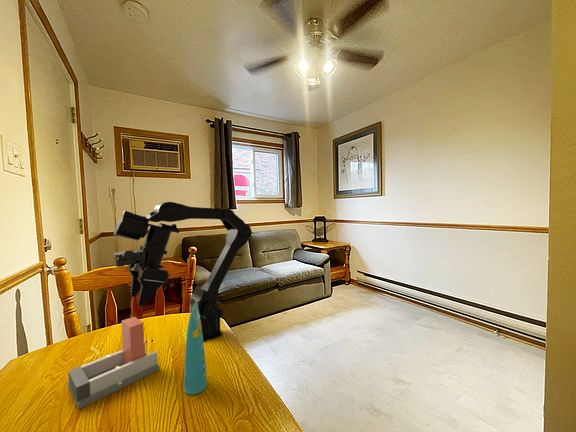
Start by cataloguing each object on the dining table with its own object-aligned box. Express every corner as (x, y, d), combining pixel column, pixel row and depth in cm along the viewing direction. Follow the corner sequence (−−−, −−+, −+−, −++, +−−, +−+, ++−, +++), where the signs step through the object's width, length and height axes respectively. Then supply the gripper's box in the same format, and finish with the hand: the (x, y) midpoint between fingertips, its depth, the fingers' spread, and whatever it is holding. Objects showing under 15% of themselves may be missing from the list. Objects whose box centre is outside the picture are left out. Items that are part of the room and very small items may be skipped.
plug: (135, 357, 66) (134, 316, 66) (144, 365, 63) (143, 322, 62) (123, 362, 64) (121, 320, 64) (131, 371, 60) (130, 327, 60)
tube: (207, 395, 54) (205, 308, 53) (183, 401, 52) (180, 312, 52) (206, 374, 61) (204, 297, 60) (185, 379, 59) (182, 300, 59)
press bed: (142, 354, 70) (142, 339, 70) (159, 369, 63) (158, 353, 63) (67, 385, 58) (67, 368, 58) (78, 409, 51) (77, 389, 51)
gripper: (117, 235, 71) (97, 290, 68) (130, 240, 57) (105, 309, 54) (157, 244, 78) (141, 293, 75) (177, 250, 65) (158, 311, 61)
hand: (136, 301), depth 66 cm, fingers open, 9 cm apart
